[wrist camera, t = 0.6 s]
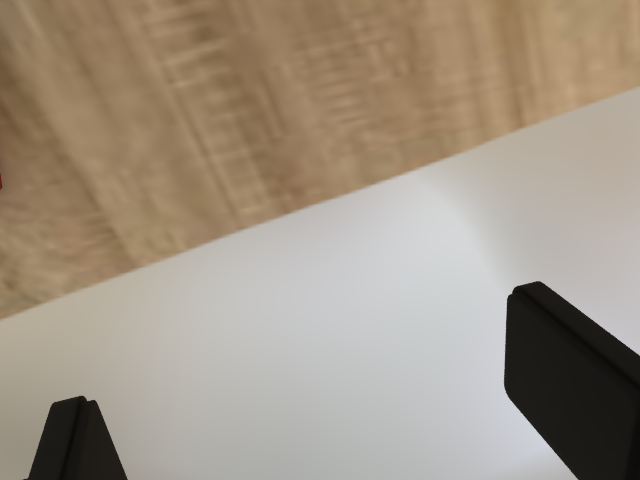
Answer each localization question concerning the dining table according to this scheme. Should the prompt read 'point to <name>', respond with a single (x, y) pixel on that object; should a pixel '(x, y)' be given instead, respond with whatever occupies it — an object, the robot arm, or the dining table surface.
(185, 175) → the dining table surface
